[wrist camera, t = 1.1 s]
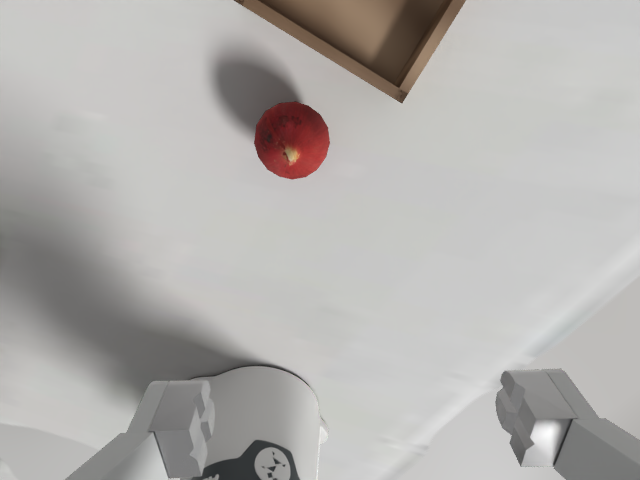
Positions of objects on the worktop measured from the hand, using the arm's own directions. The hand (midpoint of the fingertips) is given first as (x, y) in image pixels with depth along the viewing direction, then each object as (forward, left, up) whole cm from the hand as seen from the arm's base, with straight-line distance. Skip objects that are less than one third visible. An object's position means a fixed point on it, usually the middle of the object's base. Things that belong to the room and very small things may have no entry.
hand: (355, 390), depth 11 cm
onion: (0, +3, -28) cm, 28 cm away
